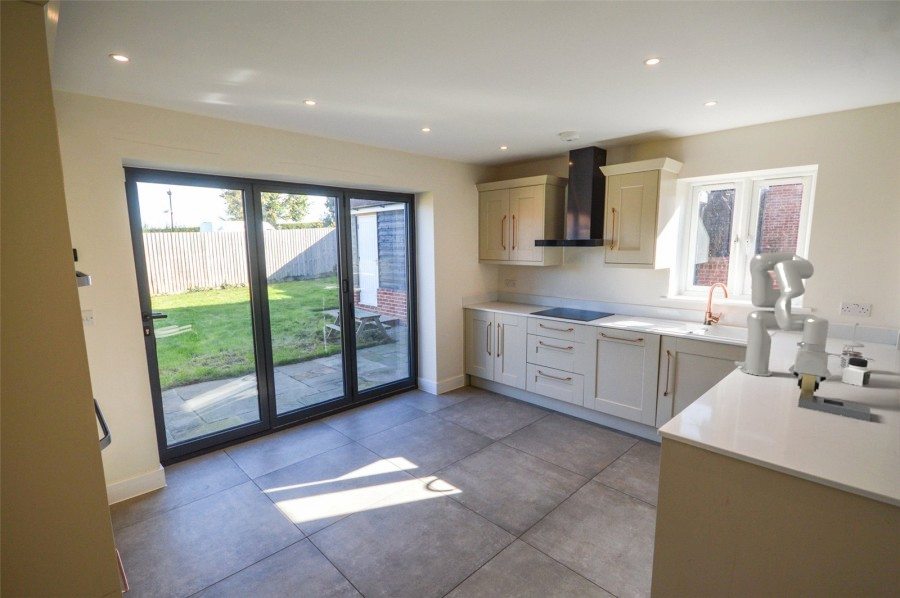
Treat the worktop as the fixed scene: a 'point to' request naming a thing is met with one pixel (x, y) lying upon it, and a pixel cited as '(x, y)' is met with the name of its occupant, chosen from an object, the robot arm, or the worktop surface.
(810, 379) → the brass peg
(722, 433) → the worktop surface
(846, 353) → the french press
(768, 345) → the robot arm
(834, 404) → the grey socket block
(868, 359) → the adjustable wrench
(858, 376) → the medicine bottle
